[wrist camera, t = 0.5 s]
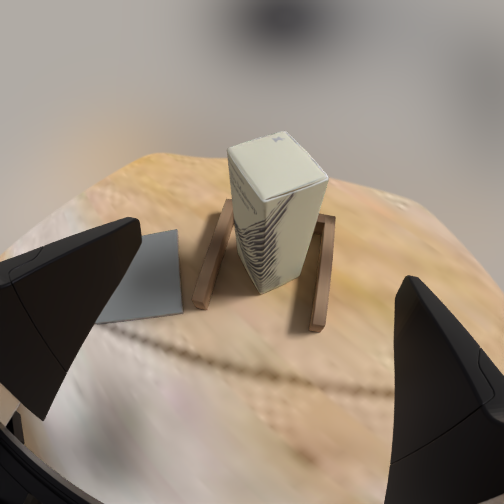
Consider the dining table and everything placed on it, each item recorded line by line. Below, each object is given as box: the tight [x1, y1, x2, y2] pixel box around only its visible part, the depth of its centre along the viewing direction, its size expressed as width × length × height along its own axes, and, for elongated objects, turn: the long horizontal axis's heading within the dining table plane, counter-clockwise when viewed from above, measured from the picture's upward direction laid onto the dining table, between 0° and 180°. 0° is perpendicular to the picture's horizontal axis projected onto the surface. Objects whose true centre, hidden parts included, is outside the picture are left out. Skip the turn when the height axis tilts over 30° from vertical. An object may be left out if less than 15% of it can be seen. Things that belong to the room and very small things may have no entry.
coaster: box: [95, 229, 183, 324], centre depth 26 cm, size 9×9×1 cm
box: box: [227, 131, 329, 294], centre depth 21 cm, size 5×4×13 cm
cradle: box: [191, 199, 335, 332], centre depth 25 cm, size 11×11×2 cm
